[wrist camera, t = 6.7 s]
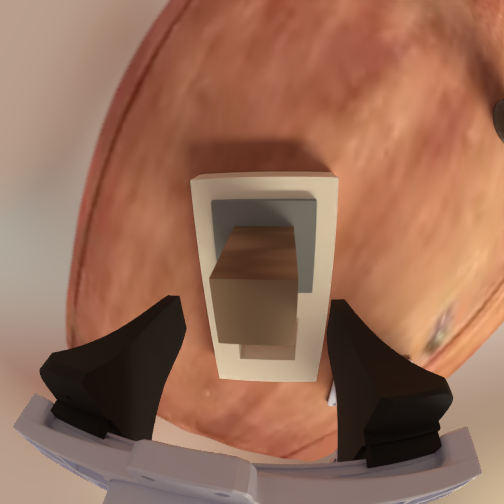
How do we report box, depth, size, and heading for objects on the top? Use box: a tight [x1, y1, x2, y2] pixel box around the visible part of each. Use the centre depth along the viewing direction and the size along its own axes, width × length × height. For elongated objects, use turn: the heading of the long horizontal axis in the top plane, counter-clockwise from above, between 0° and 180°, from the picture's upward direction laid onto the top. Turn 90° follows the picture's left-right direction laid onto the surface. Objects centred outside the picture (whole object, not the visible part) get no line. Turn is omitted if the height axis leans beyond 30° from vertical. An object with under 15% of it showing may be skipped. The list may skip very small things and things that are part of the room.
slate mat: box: [211, 199, 317, 293], centre depth 19 cm, size 7×7×1 cm
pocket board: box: [190, 171, 338, 382], centre depth 23 cm, size 10×20×2 cm, turn 3°
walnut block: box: [209, 226, 299, 346], centre depth 16 cm, size 4×4×7 cm
